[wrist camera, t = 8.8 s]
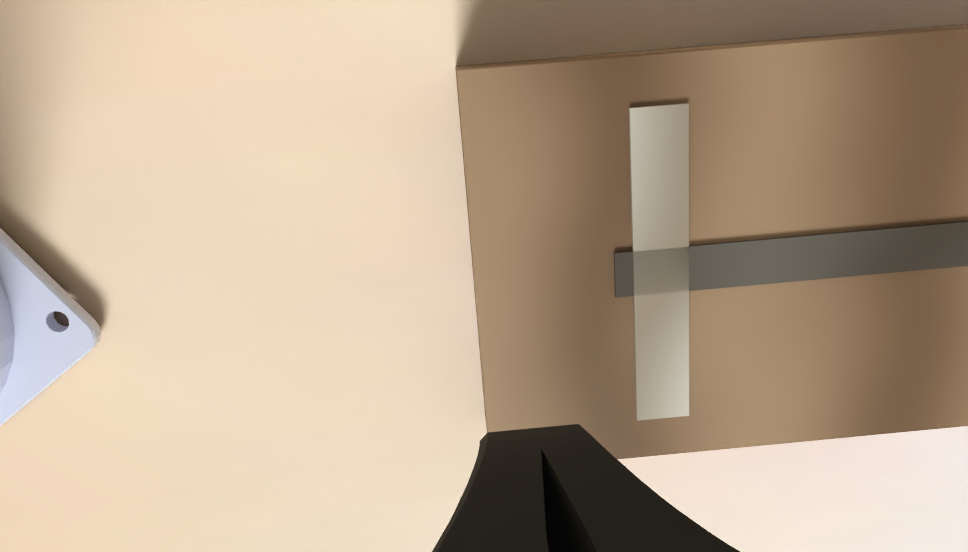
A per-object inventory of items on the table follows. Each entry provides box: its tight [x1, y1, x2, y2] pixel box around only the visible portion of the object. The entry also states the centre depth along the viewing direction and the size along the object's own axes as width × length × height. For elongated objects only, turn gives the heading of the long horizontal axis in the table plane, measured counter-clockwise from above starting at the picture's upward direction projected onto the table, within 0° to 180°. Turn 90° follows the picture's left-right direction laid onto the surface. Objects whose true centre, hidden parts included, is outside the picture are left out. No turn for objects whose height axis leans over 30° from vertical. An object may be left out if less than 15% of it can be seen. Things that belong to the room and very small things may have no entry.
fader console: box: [456, 24, 968, 459], centre depth 18 cm, size 18×9×3 cm, turn 94°
